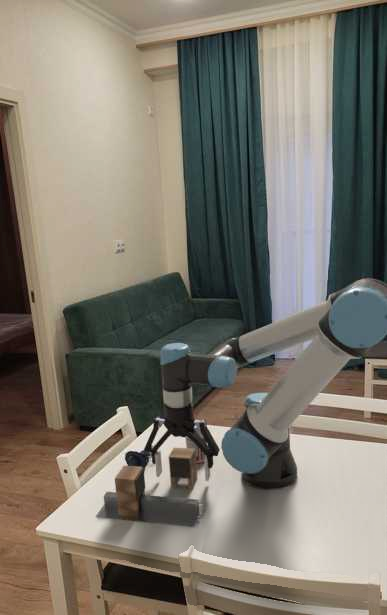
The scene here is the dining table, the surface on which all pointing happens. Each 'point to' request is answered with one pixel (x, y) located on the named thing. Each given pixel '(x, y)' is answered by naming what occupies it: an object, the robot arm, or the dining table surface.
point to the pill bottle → (192, 445)
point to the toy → (137, 458)
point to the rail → (157, 510)
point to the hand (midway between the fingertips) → (183, 476)
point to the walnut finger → (183, 466)
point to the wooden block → (129, 490)
